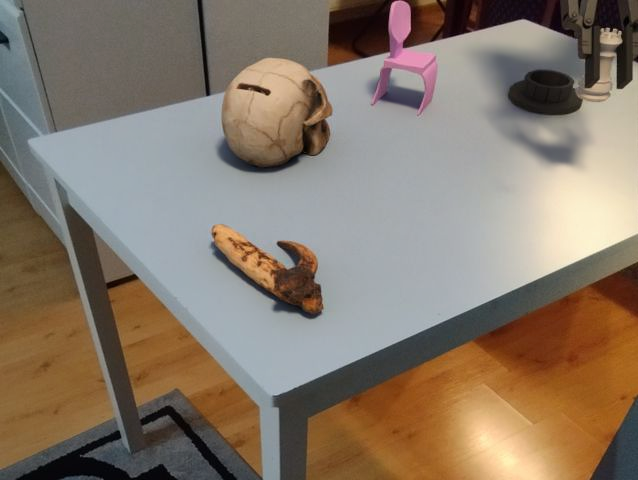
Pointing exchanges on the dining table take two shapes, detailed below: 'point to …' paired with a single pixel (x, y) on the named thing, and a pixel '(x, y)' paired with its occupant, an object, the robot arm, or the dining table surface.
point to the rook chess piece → (602, 68)
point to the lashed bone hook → (274, 268)
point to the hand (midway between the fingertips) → (608, 83)
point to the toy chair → (406, 55)
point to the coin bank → (275, 113)
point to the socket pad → (543, 106)
